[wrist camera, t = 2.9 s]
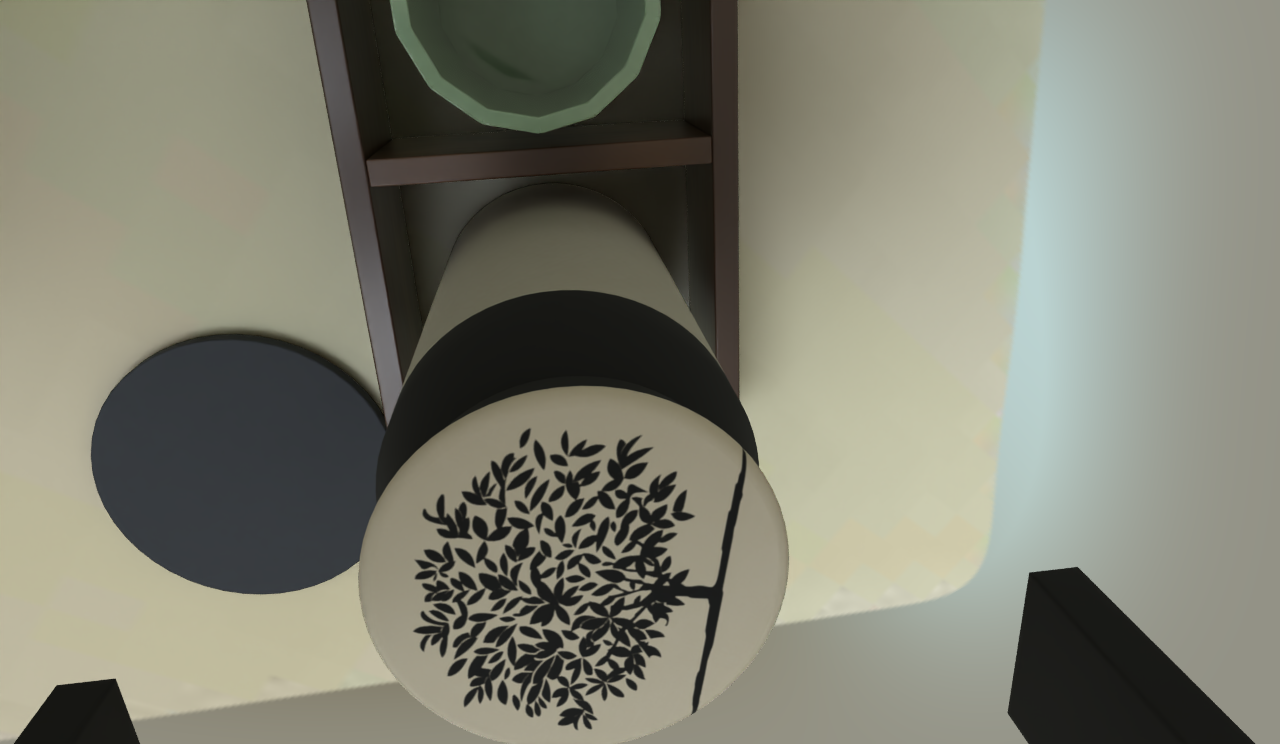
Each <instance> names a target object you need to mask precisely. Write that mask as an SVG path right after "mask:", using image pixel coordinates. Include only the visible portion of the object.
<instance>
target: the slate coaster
mask: <svg viewBox="0 0 1280 744" xmlns="http://www.w3.org/2000/svg"><path fill="white" fill-rule="evenodd" d="M386 430H387V427H386V422H385V418H384V416H383V415H382V413H381V411H380V409H379V408H378V406H377V405H376V404H375V402H374V401H373V400H372V399H371V397H370V396H369V395H368V394H367V392H366V391H365V390H364V389H363V388H362V387H361V386H360V385H359V384H358V383H357V382H356V381H355V380H354V379H353V378H351V377H350V376H349V375H347V374H346V373H345V372H344V371H342V370H341V369H340V368H338V367H337V366H336V365H334V364H332V363H331V362H329V361H327V360H326V359H324V358H322V357H321V356H319V355H317V354H314V353H312V352H310V351H308V350H306V349H303V348H301V347H298V346H295V345H292V344H289V343H286V342H283V341H280V340H275V339H270V338H265V337H261V336H250V335H240V334H235V335H214V336H207V337H200V338H195V339H192V340H188V341H184V342H181V343H177V344H175V345H173V346H170V347H168V348H166V349H163V350H161V351H159V352H157V353H156V354H154V355H152V356H151V357H149V358H147V359H146V360H144V361H143V362H141V363H140V364H139V365H138V366H137V367H135V368H134V369H133V370H132V371H131V372H129V373H128V374H127V375H126V376H125V377H124V378H123V379H122V380H121V381H120V382H119V383H118V384H117V386H116V387H115V388H114V389H113V390H112V391H111V393H110V394H109V396H108V398H107V399H106V401H105V402H104V404H103V406H102V408H101V410H100V413H99V415H98V418H97V420H96V423H95V427H94V432H93V436H92V447H91V462H92V471H93V476H94V480H95V484H96V487H97V491H98V493H99V495H100V498H101V500H102V502H103V505H104V507H105V509H106V510H107V512H108V514H109V515H110V517H111V518H112V520H113V522H114V523H115V524H116V526H117V527H118V528H119V529H120V531H121V532H122V533H123V534H124V536H125V537H126V538H127V539H128V540H129V541H130V542H131V543H132V544H133V545H134V546H135V547H136V548H137V549H138V550H140V551H141V552H142V553H144V554H145V555H146V556H147V557H149V558H150V559H151V560H153V561H154V562H156V563H157V564H159V565H160V566H162V567H164V568H165V569H167V570H169V571H170V572H172V573H174V574H177V575H179V576H181V577H183V578H185V579H187V580H190V581H192V582H195V583H198V584H201V585H204V586H207V587H211V588H215V589H219V590H223V591H229V592H236V593H242V594H276V593H285V592H291V591H297V590H301V589H304V588H308V587H312V586H315V585H318V584H320V583H322V582H325V581H327V580H330V579H332V578H334V577H335V576H337V575H339V574H341V573H343V572H344V571H346V570H348V569H349V568H350V567H352V566H353V565H354V564H356V563H357V562H358V561H359V560H360V554H361V548H362V543H363V538H364V535H365V532H366V529H367V526H368V523H369V520H370V518H371V515H372V513H373V511H374V509H375V507H376V504H377V501H376V470H377V462H378V456H379V452H380V448H381V444H382V441H383V438H384V435H385V432H386Z"/></svg>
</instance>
